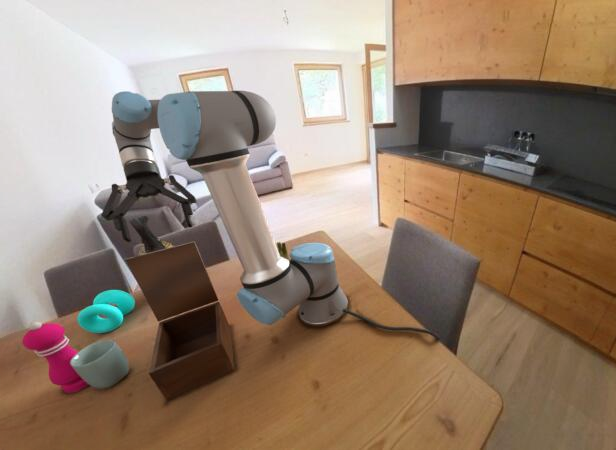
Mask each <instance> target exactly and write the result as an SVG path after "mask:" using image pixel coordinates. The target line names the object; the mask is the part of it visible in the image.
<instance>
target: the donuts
mask: <svg viewBox="0 0 616 450" xmlns="http://www.w3.org/2000/svg"><path fill="white" fill-rule="evenodd" d="M111 304H114V305H111ZM115 305H116V306H115ZM135 306H136V300H135V298H134V297H133V295H131V294H130V293H129V292H127V291H124V290H122V289H121V290H120V289H108V290H105V291H102V292H100V293H98V294H97V295H96V296H95V298H94V299H93V301H92V305H89V306H87V307H84V308H83V309H82V310H81V311H80V312H79V313H78V315H77V323H78V325H79V326H80V327H81V328H82V329H83V330H85V331H88V332H91V333H94V334H105V333H110V332H112V331H115V330H117V329H118V328H119V327H120V326H121V325H122V323H123V321H124V316H126V315H128V314H129V313H131V312H132V311H133V310H134V308H135ZM100 316H104V317H106V318H103V317H100Z"/></svg>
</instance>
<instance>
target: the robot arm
mask: <svg viewBox="0 0 616 450" xmlns="http://www.w3.org/2000/svg"><path fill="white" fill-rule="evenodd" d="M111 113H112V119H113V120H112V122H111V130H112V135H113V137H114V139H115V144H116V147H117V149H118V154H119V158H120V162H121V166H122V169H123V173H124V176H125V180H126V183H125V184H117V183H112V184H111V192H110V194H109V197H108V199H107V201H106V203H105V206H104V207H103V210H102V212H101V214H100V215H101V217H102V218H103V219H105V220H106V221H113V225H114V226H113V227H114V228H115V230H117V231H118V232H121V236H122V239H123V240H124V241H126V242H127V243H131V242H132V238H131V234H130V230H129V226H128V223H127V220H126V218H125V216H126V214H127V213H128V212H129V211H130V209H131V208H132V207H133V206H134V204H135V203H136V202H138V201H139V200H140V198H143V199H144V198H149V197H155V196H158V195H163V196H165V197H167V198H169V199H171V200H173V201H175V202H176V203H179V204H180V206H181V209H182V213H183V215H184V218H185V219H184V220H185V222H186V225H187V226H188V228H192V227H193V223H192V221H191V217H190V216H193V215H194V212H193V209H192V205H193V204H196V203H197V202H198V201H197V198H196V196H195V195H194V194H192V193H191V192H190V191H189V190H188V189H187V188H185V187H184V186H183V185H182V184H180V183H179V182H178V181H177V179H176V177H175V175H173V174H170V175H168V177H165V178H163V177H162V175H161V172H160V168H159V165H158V162H157V159H156V156H155V153H154V150H153V146H152V142H151V133H152V130H155V129H158V130H159V132H160V135H161V138H162V141H163V143H164V145H165V147H166V148H167V149H168V150H169V153H170V154H171V156H172V157H174V158H176V159H178V160H181V161H186V163H187V166H188V168H189V169H192V170H194V171H195V172H198V173H199V174H201V176H202V178H203V181H204V183H205V185H206V187H207V190H208V192H209V194H210V196H211V199H212V201H213V203H214V205H215V208H216V210H217V213H218V214H219V217H220V220H221V221H222V224H223V226H224V228H225V230H226V232H227V233H226V234H228V237H229V239H230V240H229V241H230V242H231V244H232V246H233V248H234V251H235V253H236V256H237V257H238V260H239V262H240V265H241V267H242V269H243V272H242V273H241V275H240V278H239V279H240V283H241V284H242V287H241V288H240V289H239V290H237V292H236V298H237V300H238V302H239V304H240V305H241V307H242V308H243V309H244V310H245V311H246V312H247V313H248V314H249V315H250V316H251V317H252V318H253V319H254V320H256V321H257V322H258V323H260V324H262V325H265V326H272V325H274V324H276V323H277V322H278V321H280V320H281V319H283V318H285V317H286V315H288V314H289V313H291V312H292V311H293V310H294V309H295V308H297V307H298V314H299V318H300V321H301V322H302V323H303V324H304V325H307V326H309V327H313V328H321V327H327V326H330V325H333V324H334V323H337V322H338V321H339V320H341V319H342V318H343V317H344V315H346V314H348V315H350V316H352V317H356V318H357V319H359V320H362V321H364V322H366V323H368V324H370V325H371V326H374V327H376V328H380V329H383V330H387V331H411V332H417V333H423V334H428V335H430V336H432V337H433V338H435V339H436V340H437V341H441V340H442V338H441V337H440V336H439V335H438V334H437V333H435V332H434V331H432V330H429V329H424V328H420V327H414V326H413V327H412V326H387V325H383V324H380V323H377V322H376V321H373V320H371V319H369V318H367V317H365V316H363V315H361V314H358V313H356V312H354V311H351V310H349V302H348V301H349V300H348V297H347V295H346V293H345V292H344V291H343V289H342V287H341V286H340V284H339V277H338V273H337V266H336V258H335V255H334V253H333V252H334V251H333V249H332V248H331V246H329V245H328V244H326V243H323V242H306V243H302V244H299V245H297V246H295V247H293V248H292V249H291V250H290V252H289V259H290V260H288V259H286V258H283V257H280V254H279V251H278V250H279V249H277V247H278V245H277V246H276V244H277V243H276V244H275V242H276V241H275V239H274V236H273V234H272V230H271V228H270V225H269V222H268V220H267V217H266V215H265V212H264V209H263V207H262V204H261V202H260V199H259V196H258V193H257V191H256V188H255V185H254V183H253V180H252V178H251V175H250V172H249V169H248V166H247V162H248V160H249V159H250V156H251V153H250V150H249V148H248V147H251V146H255V145H258V144H261V143H264V142H265V141H267V140H268V139H270V137H271V136H272V135H273V133H274V131H275V130H276V125H277V118H276V113H275V111H274V108H273V107H272V105H271V104H270V103H269V102H268V100H267V99H265V98H264V97H263V96H262V95H259V94H258V93H255V92H251V91H247V90H214V91H213V90H204V91H203V90H201V91H197V90H194V91H193V90H189V91H183V92H182V91H181V92H174V93H173V92H172V93H168V94H165V95H163V97H161V98H160V99H148V98H146V97H145V96H143V95H142V94H140V93H137V92H132V91H119V92H117V93H115V94H114V95H113V97H112V101H111ZM166 184H168V185H169V186H173V187H174V189H176V190H177V191H178V192H179V193H180V194H181V195H183V196H181V195H180V194H178V193H176V192H173V191H171V190H170V189H168V188H166V187H165V185H166ZM126 190H127V191H128V192H127V193H126V196H125V198H124V199H123V200H122V201H121V199H122V197H123V194H125V191H126ZM120 201H121V202H120Z"/></svg>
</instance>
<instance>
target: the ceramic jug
mask: <svg viewBox="0 0 616 450" xmlns="http://www.w3.org/2000/svg"><path fill="white" fill-rule="evenodd" d="M149 221H150V219H149V217H148V216H146V215H141V216H140V217H134V218H132V219H130V220H129V223H130V225H131V226H132V227H133V229H134V230H135V232H136V233H137V234H138V236H140V239H141V246H140V248H139V251H138V255H142V254H146V253H150V252H154V251H158V250H162V249H166V248H169V247H173V246H175V244H172V243H171V242H168V241H166V240H164V239H161V238H159V237H157V236H156V235H154V233H153V232H152V230H151V229H150V226H149V225H148V222H149Z"/></svg>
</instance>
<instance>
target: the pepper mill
mask: <svg viewBox="0 0 616 450" xmlns="http://www.w3.org/2000/svg"><path fill="white" fill-rule="evenodd" d="M28 329H29V330H28V331H27V332H26V333H25V334H24V335H23V337H22V339H21V341H22V345H23V346H24V348H25V349H27V350H29V351H30V350H31V351H34V353H35V354H36V355H37V357H42V358H44V359H45V360H46V361H47V363H48V378H49V380H50V382H51V383H52V384H53V385H56V386H60V389H62V390H63V391H64V392H65V393H67V394H68V393H76V392H79V391H81V390H83V389H84V388H87V387H88V386H90V385H89V384H87V383H86V382H85V381H84V380H83V379H82V378H81V377H80V376H79V375H78V374H77V373H76V371H75V370H74V369H73V368H72V366H71V364H70V361H71V359H72V358H73V357H74V356H75V355H76V354H77V353H78V352H79V351H80V350H79V351H78V350H75V349H74V348H72V346H70V345H69V342H70V339H69V338H68V337H67V336H66V335H65V333H66V331H65V328H64V327H63V325H61V324H60V323H55V322H47V323H42V322H40V321H33V322H31V323H30V324H29V325H28Z"/></svg>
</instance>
